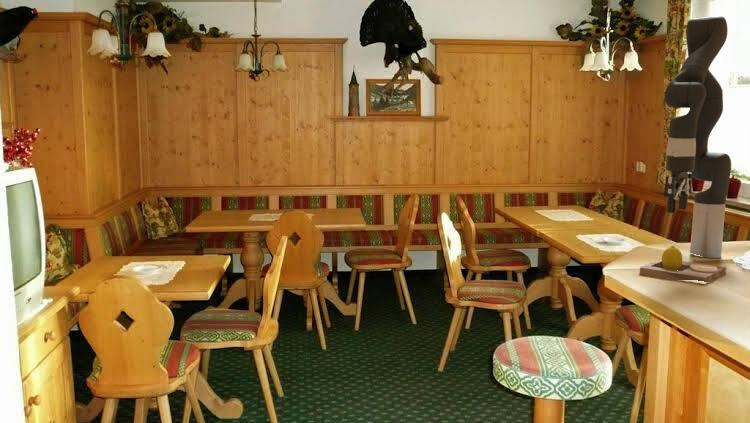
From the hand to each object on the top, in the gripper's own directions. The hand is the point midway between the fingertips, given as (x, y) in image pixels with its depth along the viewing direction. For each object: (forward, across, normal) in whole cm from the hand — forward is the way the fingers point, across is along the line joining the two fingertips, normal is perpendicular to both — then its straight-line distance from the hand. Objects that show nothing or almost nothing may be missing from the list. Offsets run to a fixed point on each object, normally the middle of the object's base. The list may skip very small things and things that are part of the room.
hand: (676, 210), depth 212 cm
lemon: (+18, 0, 0) cm, 18 cm away
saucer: (+16, -2, +8) cm, 18 cm away
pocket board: (+18, -1, +2) cm, 18 cm away
